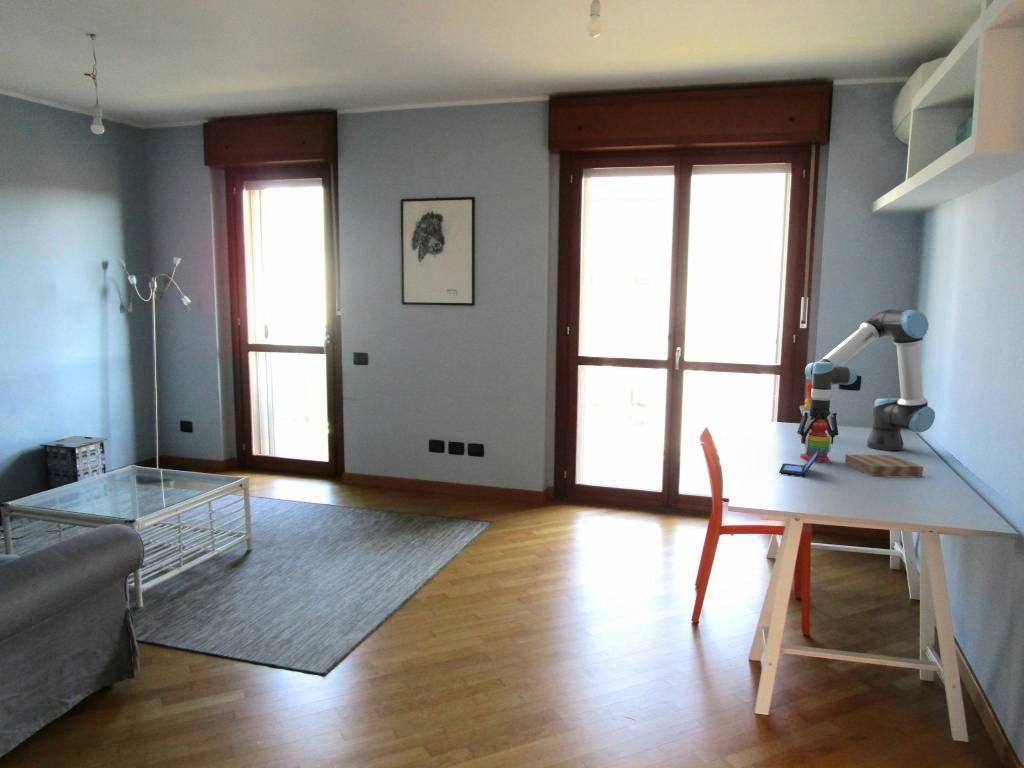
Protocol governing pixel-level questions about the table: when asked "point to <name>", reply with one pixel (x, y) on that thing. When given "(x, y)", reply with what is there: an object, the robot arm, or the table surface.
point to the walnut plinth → (883, 465)
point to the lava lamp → (807, 403)
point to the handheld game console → (798, 467)
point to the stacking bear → (817, 442)
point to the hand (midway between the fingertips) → (816, 451)
